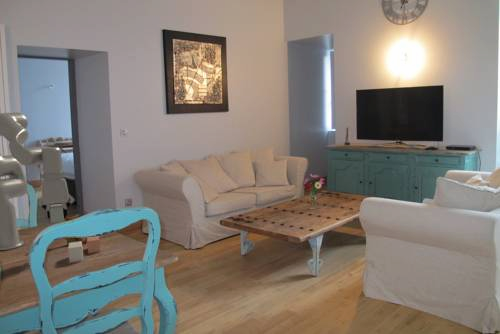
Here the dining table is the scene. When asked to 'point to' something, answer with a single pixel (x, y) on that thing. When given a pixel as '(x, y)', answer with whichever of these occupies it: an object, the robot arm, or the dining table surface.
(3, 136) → the robot arm
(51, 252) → the dining table surface
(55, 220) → the sage brick
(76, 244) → the cream brick
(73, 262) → the build mat
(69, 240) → the toy helicopter
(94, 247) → the terracotta brick
